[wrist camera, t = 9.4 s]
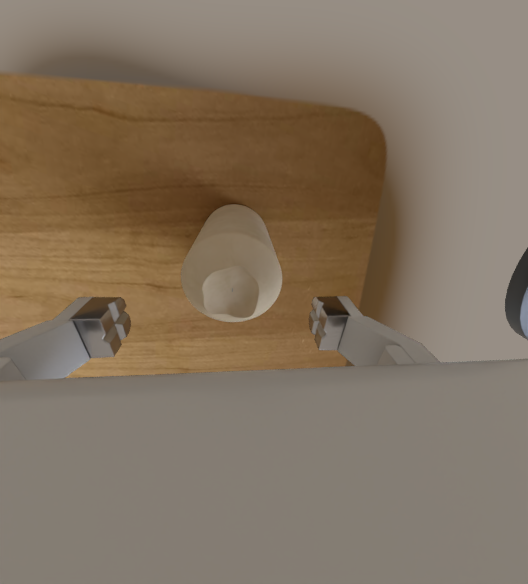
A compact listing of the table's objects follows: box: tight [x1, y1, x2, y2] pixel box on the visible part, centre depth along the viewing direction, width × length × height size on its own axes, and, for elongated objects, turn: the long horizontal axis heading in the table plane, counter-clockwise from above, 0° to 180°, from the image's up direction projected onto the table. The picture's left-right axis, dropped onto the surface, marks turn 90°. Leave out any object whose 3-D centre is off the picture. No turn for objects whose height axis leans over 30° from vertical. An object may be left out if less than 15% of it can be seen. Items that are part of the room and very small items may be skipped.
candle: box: [181, 204, 282, 322], centre depth 15 cm, size 6×6×10 cm
